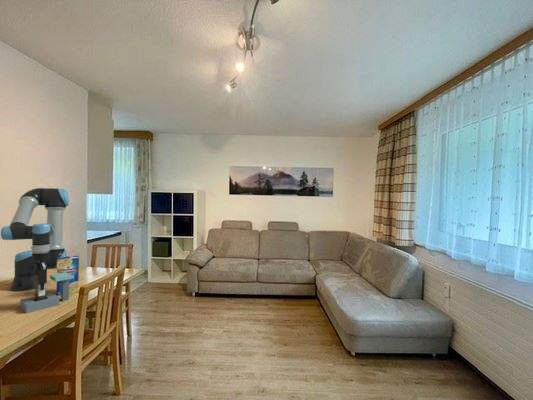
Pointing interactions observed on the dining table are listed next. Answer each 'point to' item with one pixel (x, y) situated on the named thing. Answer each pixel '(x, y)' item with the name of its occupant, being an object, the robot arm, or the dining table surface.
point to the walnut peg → (37, 298)
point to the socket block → (39, 303)
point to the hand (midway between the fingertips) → (40, 294)
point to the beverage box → (70, 267)
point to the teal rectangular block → (62, 284)
